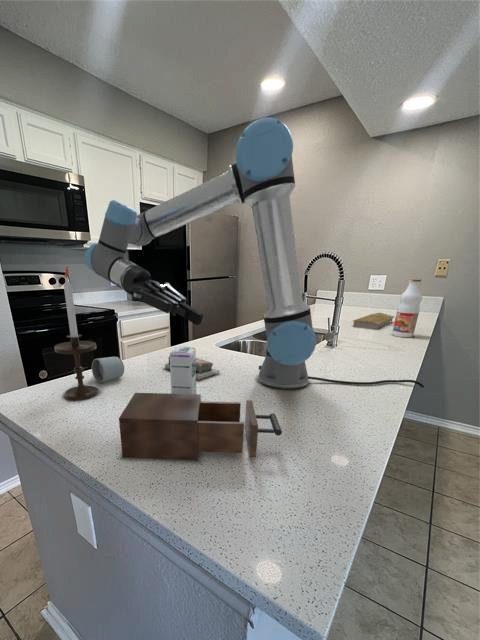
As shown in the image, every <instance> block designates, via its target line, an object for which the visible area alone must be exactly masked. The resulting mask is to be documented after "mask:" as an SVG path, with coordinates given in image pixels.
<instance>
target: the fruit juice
mask: <svg viewBox="0 0 480 640" xmlns="http://www.w3.org/2000/svg"><path fill="white" fill-rule="evenodd" d="M421 282H422V279H421V278H409V279H408V286H407V288H406V289H405V291H403V293H401V295H400V297H399V304H398V306H397V309H396V314H395V317H394V322H393V326H392V333H391V335H392V336H393V337H394V336H395V337H398V338H413V337H414V334H415V330H416V327H417V321H418V318H419V315H420V311H421V310H420V309H421V306H420V304H421V302H422V300H423V294H422V292H421V289H420V284H421Z"/></svg>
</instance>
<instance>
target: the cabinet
mask: <svg viewBox="0 0 480 640" xmlns="http://www.w3.org/2000/svg"><path fill="white" fill-rule="evenodd" d="M200 401H202V394H199V393H196V394H171V393H166V392H165V393H163V392H161V393H160V392H134V393H133V395H132V397H131V398H130V400H129V401H128V403H127V405H126V406H125V408H124V409H123V410H122V412H121V414H120V416H119V417H118V424H119V437H120V446H121V447H120V448H121V455H122V456H121V458H123V459H145V460H169V461H170V460H171V461H195V462H197V461H198V460H199V459H198V458H199V452H198V416H199V408H200Z"/></svg>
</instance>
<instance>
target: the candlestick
mask: <svg viewBox="0 0 480 640" xmlns="http://www.w3.org/2000/svg"><path fill="white" fill-rule="evenodd" d="M68 268H69V266H68V265H66V267H65V269H64V270H65V272H64V277H65V282H64V283H63V291H64V298H65V305H66V312H67V319H68V327H69V335H65V336H66V338H70V341H65V342H61V343H57V344H55V345H54V346H53V347H54V348H53V349H54V351H55V353H57V354H60V355H71V356H74V362H75V367H74V368H73V372H74V373H75V374H76V376H75V377H74V379H75V380H77V386H74V387H70V388H68V389H67V390H66V391H64V395H65V399H67V400H71V401H85V400H88V399H92V398H94V397H96V396H97V395H98V394H99V389H98V387H97V386H94V385H87V384H86V385H85V384H84V380H83V379H85V375H83V373H84V371H85V368H84V366H82V365H81V356H80V355H82V354H85V353H89V352H93V351H95V350H96V349H97V343H96V342H95V341H90V340H80V339H79V338H80V337H82V336H83V334H78V333H79V332H78V326H77V318H76V317H77V316H76V309H75V303H74V302H75V301H74V295H73V286H72V283H70V281H69V278H68V276H69V269H68Z"/></svg>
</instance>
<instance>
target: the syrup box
mask: <svg viewBox="0 0 480 640" xmlns="http://www.w3.org/2000/svg"><path fill="white" fill-rule="evenodd" d="M196 355H197V354H196V347H192V346H191V347H189V346H175V347H174V349H172V350H171V351H170V352H169V356H170V369H169V370H170V391H171V392H170V394H197V379H196V358H197V357H196Z"/></svg>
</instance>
